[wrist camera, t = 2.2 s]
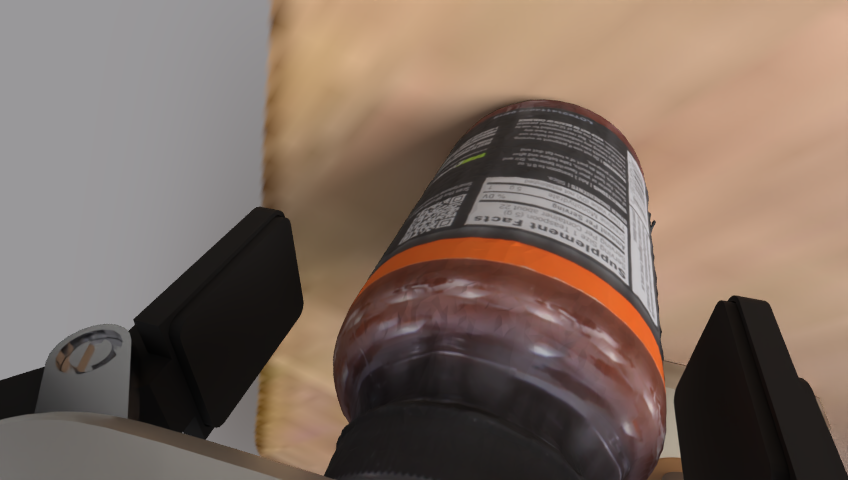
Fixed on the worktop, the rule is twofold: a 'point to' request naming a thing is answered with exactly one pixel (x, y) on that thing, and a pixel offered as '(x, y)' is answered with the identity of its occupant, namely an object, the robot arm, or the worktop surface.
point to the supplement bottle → (511, 315)
